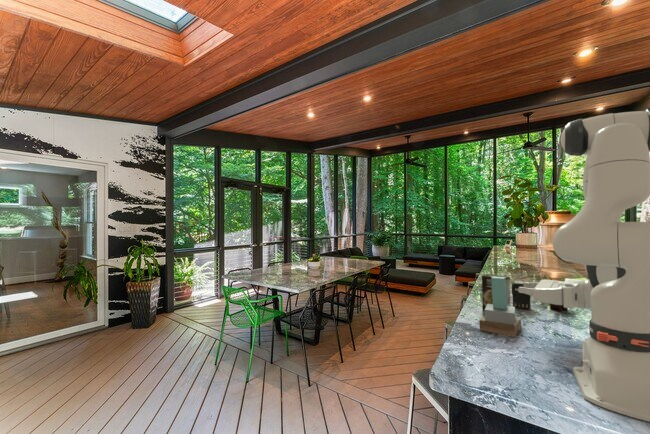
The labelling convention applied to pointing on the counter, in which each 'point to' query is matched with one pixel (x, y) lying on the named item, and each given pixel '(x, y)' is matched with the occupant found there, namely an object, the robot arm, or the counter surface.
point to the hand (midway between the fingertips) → (521, 287)
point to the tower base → (500, 327)
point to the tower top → (500, 315)
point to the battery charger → (520, 297)
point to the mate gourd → (554, 304)
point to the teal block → (499, 292)
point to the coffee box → (488, 290)
